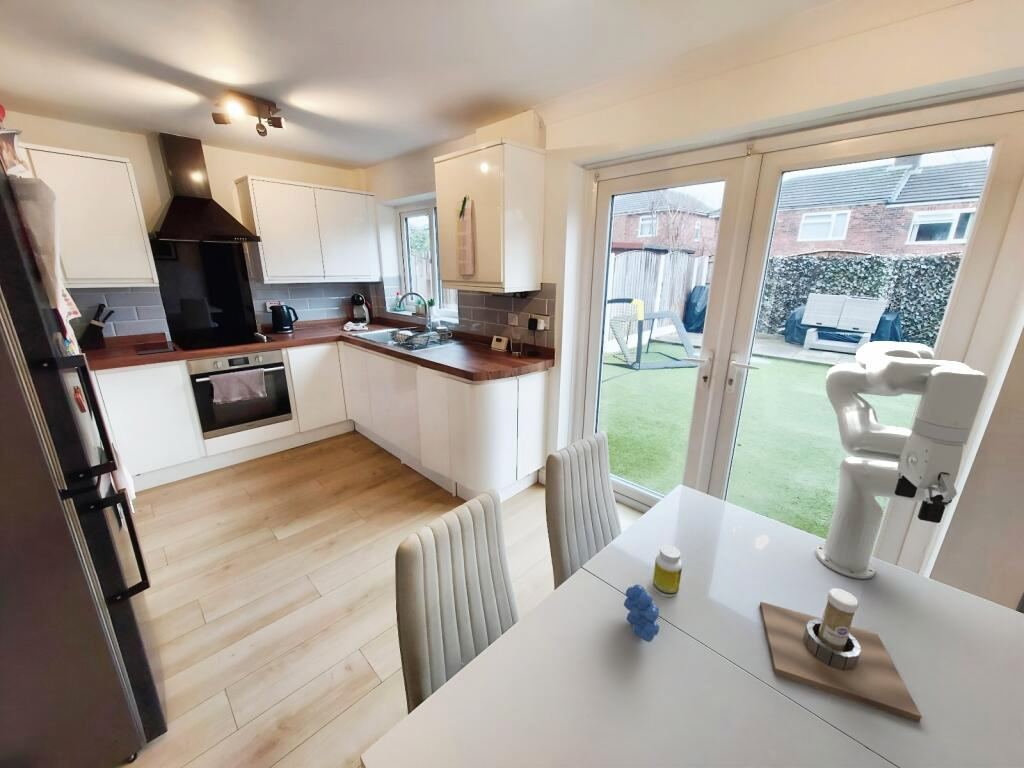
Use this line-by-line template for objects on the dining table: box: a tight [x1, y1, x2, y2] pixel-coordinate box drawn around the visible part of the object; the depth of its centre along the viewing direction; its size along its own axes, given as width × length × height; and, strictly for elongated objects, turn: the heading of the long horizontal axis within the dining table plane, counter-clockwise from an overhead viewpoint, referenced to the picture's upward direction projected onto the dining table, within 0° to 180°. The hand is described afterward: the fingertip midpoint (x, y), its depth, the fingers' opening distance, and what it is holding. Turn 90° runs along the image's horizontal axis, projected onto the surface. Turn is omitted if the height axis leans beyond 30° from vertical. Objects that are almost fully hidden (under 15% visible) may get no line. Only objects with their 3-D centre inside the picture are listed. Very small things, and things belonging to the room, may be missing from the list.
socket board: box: [758, 601, 922, 723], centre depth 82 cm, size 18×22×2 cm
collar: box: [803, 618, 861, 671], centre depth 81 cm, size 9×9×4 cm
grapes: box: [623, 584, 660, 643], centre depth 85 cm, size 12×7×12 cm, turn 12°
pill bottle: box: [652, 544, 683, 598], centre depth 98 cm, size 6×6×11 cm
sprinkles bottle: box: [818, 587, 859, 652], centre depth 80 cm, size 5×5×13 cm
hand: (915, 507), depth 81 cm, fingers open, 9 cm apart
